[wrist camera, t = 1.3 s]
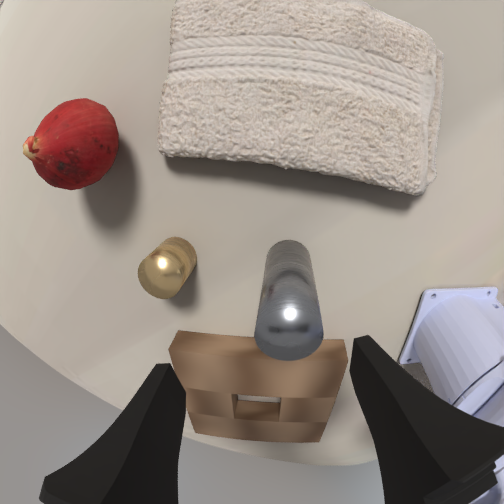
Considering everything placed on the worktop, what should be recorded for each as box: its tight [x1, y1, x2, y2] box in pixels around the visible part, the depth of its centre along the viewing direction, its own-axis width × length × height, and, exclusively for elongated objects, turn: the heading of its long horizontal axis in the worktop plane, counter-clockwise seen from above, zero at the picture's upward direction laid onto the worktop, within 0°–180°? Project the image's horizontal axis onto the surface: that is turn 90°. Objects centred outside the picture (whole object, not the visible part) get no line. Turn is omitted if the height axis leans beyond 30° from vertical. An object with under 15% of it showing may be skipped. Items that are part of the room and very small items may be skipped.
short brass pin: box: [138, 237, 197, 299], centre depth 18 cm, size 3×3×4 cm
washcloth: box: [157, 0, 444, 196], centre depth 13 cm, size 12×18×3 cm, turn 85°
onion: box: [23, 98, 119, 190], centre depth 13 cm, size 6×6×8 cm
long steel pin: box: [254, 240, 324, 361], centre depth 15 cm, size 3×3×8 cm
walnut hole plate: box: [169, 330, 348, 443], centre depth 23 cm, size 14×14×2 cm
